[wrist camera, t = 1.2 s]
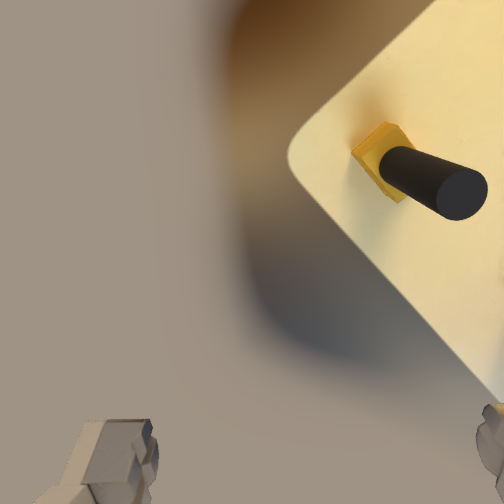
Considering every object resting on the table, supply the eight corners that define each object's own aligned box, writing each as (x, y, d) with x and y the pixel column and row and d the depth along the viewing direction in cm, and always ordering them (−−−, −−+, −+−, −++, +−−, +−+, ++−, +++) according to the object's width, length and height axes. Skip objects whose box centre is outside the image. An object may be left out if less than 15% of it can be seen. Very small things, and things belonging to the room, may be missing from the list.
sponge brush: (351, 152, 33) (412, 186, 23) (385, 121, 32) (465, 141, 22) (386, 195, 35) (459, 244, 24) (419, 166, 34) (509, 205, 23)
